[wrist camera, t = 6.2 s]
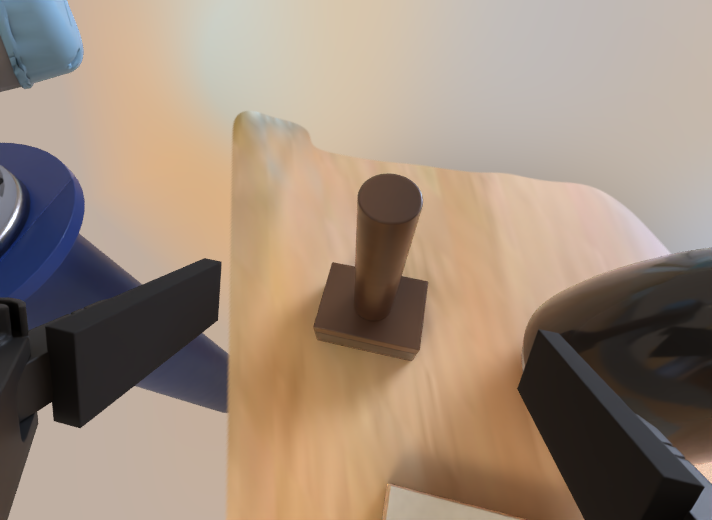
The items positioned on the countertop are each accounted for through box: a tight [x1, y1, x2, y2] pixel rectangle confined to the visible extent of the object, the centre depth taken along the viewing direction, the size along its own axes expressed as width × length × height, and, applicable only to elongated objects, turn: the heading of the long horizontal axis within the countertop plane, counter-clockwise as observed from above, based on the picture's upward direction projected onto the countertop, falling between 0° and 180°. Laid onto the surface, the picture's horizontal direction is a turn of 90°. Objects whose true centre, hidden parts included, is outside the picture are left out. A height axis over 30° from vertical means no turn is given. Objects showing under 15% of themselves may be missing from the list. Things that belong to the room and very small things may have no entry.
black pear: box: [522, 248, 712, 466], centre depth 17 cm, size 10×10×15 cm
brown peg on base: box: [314, 174, 428, 361], centre depth 19 cm, size 7×5×14 cm
